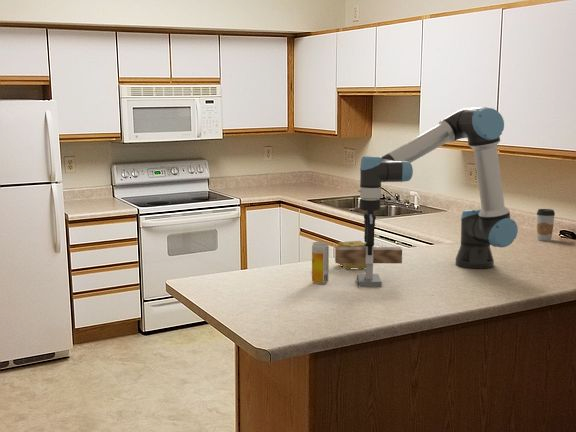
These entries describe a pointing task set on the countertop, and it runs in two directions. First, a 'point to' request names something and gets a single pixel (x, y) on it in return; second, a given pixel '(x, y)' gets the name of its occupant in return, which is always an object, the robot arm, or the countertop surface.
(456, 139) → the robot arm
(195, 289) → the countertop surface
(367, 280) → the fulcrum
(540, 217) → the coffee cup
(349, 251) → the walnut bar
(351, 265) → the cheese
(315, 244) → the beer can
